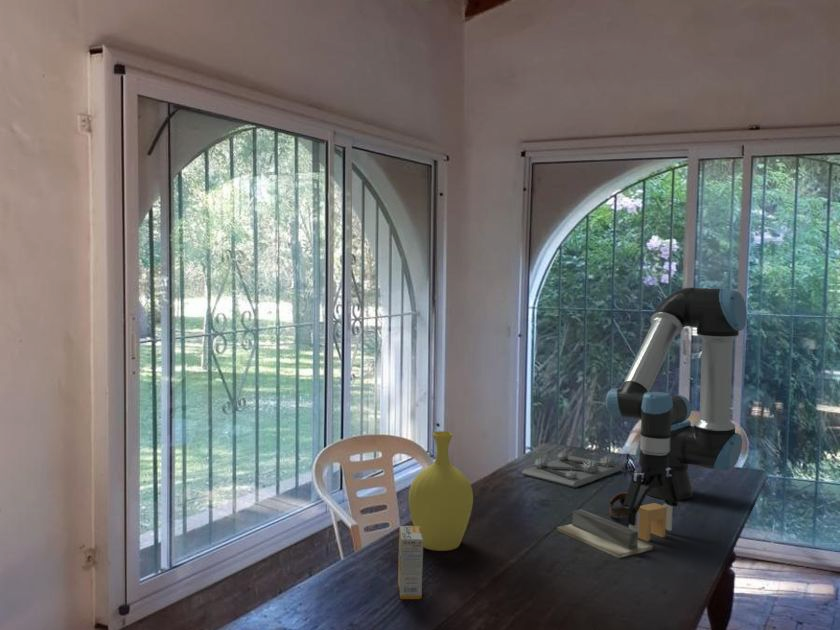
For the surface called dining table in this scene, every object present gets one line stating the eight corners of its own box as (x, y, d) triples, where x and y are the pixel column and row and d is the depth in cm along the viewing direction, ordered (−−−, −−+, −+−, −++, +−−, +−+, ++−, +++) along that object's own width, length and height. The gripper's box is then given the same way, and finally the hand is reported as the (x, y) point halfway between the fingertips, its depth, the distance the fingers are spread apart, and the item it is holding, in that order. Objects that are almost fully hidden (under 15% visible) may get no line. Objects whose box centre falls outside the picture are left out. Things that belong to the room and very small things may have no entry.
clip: (653, 532, 215) (654, 502, 215) (665, 536, 212) (666, 506, 212) (635, 536, 212) (636, 506, 211) (646, 541, 208) (648, 510, 208)
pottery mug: (651, 526, 222) (640, 502, 220) (619, 538, 224) (607, 514, 222) (642, 502, 233) (632, 479, 231) (612, 514, 235) (601, 491, 233)
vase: (478, 537, 207) (482, 430, 205) (461, 559, 192) (465, 443, 190) (419, 529, 212) (422, 424, 210) (398, 549, 197) (401, 436, 195)
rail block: (589, 523, 221) (590, 505, 220) (652, 549, 202) (653, 530, 202) (557, 530, 214) (557, 512, 214) (618, 558, 196) (619, 538, 195)
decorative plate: (568, 461, 291) (569, 441, 290) (622, 473, 276) (623, 453, 276) (519, 476, 269) (520, 455, 268) (575, 490, 254) (576, 468, 254)
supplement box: (396, 583, 177) (398, 525, 176) (418, 583, 177) (420, 525, 176) (399, 599, 168) (400, 538, 167) (422, 599, 169) (423, 538, 168)
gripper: (674, 444, 220) (669, 521, 221) (610, 453, 207) (606, 535, 208) (696, 450, 214) (692, 529, 215) (633, 460, 201) (628, 545, 202)
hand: (650, 532), depth 212 cm, fingers open, 12 cm apart
